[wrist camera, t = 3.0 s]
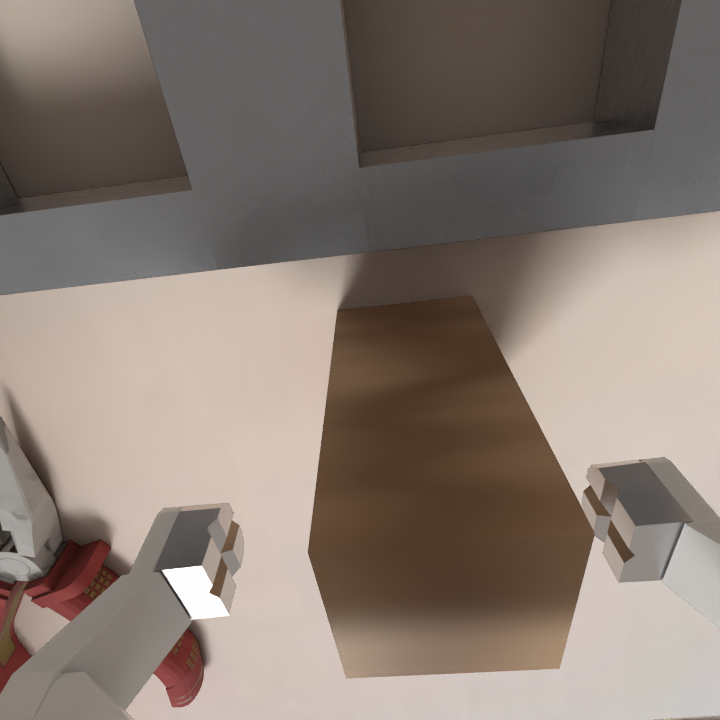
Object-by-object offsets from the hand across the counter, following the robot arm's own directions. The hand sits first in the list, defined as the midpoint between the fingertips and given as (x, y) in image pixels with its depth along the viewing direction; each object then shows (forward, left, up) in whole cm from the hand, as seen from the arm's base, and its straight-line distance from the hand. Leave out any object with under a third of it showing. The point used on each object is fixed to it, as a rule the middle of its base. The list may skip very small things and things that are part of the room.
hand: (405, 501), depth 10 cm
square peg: (-1, -1, -5) cm, 5 cm away
